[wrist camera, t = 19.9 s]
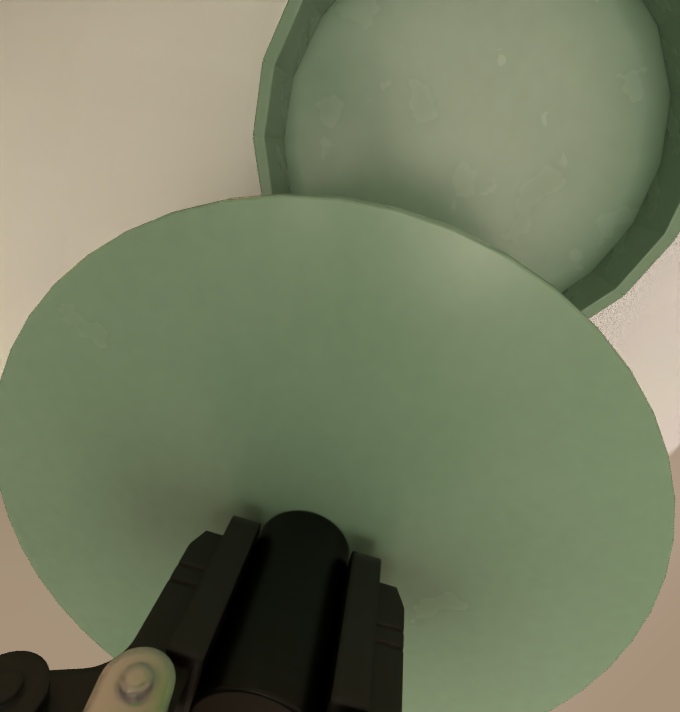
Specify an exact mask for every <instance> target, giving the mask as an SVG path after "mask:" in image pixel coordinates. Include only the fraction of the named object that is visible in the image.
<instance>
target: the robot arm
mask: <svg viewBox="0 0 680 712" xmlns="http://www.w3.org/2000/svg"><path fill="white" fill-rule="evenodd" d="M260 529H261V523H259V522H255V521H252V520H248V519H245V518H242V517H238V516H235V515H234V516H233V517H232V519H231V520H230V522H229V524H228V526H227V528H226V530H225V532H224V534H223V535H220V534H217V533H213V532H210V531H207V530H206V531H205V532H204V533H203V534H201V535H200V536H199V537H197V538H196V539H195V540H194V541H192V542H191V543H190V544H189V545H188V547H187V549H186V551H185V552H184V554H183V556H182V557H181V559H180V561H179V564H178V565H177V566H176V568H175V570H174V571H173V573H172V575H171V577H170V579H169V581H168V582H167V583H166V585H165V587H164V589H163V590H162V592H161V594H160V596H159V597H158V599H157V601H156V603H155V604H154V606H153V608H152V609H151V611H150V613H149V615H148V616H147V618H146V620H145V622H144V623H143V625H142V627H141V629H140V630H139V632H138V634H137V635H136V637H135V639H134V640H133V642H132V643H131V644H130V645H129V647H128V648H127V649H126V650H125V651H123V652H122V653H121V654H119V655H118V656H116V657H115V658H114V659H112V660H111V661H109V662H107V663H104V664H102V665H99V666H96V667H92V668H85V669H66V670H49V667H48V665H47V663H46V661H45V660H44V659H43V658H42V657H41V656H39V655H37V654H35V653H32V652H28V651H14V652H8V653H5V654H1V655H0V712H189V708H190V705H191V702H192V700H193V698H194V695H195V693H196V691H197V689H198V687H199V684H200V682H201V679H202V677H203V674H204V672H205V669H206V667H207V665H208V662H209V660H210V657H211V655H212V652H213V650H214V647H215V645H216V642H217V640H218V637H219V635H220V632H221V630H222V628H223V625H224V623H225V620H226V618H227V615H228V613H229V610H230V608H231V605H232V603H233V600H234V598H235V596H236V593H237V591H238V588H239V586H240V583H241V581H242V578H243V576H244V573H245V571H246V568H247V566H248V563H249V561H250V559H251V556H252V554H253V551H254V549H255V546H256V544H257V541H258V538H259V534H260ZM380 572H381V559H380V558H376V557H373V556H369V555H366V554H363V553H359V552H356V551H352V554H351V556H350V559H349V562H348V565H347V569H346V575H345V581H344V587H343V593H342V599H341V605H340V612H339V618H338V624H337V630H336V636H335V642H334V648H333V654H332V660H331V666H330V672H329V678H328V684H327V690H326V696H325V702H324V708H323V712H402V692H403V648H404V634H403V631H404V606H403V603H402V600H401V598H400V595H399V592H398V589H397V587H394V586H391V585H387V584H384V583H381V582H380Z"/></svg>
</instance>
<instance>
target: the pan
mask: <svg viewBox="0 0 680 712" xmlns="http://www.w3.org/2000/svg"><path fill="white" fill-rule="evenodd" d="M263 60H264V61H263V62H262V70H261V77H260V85H259V93H258V101H257V109H256V116H255V124H254V132H253V136H254V137H253V140H254V147H255V154H256V161H257V167H258V174H259V181H260V187H261V194H262V195H272V194H284V193H288V194H306V195H325V196H342V197H347V198H352V199H358V200H363V201H368V202H373V203H378V204H383V205H388V206H394V207H399V208H402V209H405V210H408V211H410V212H413V213H416V214H419V215H422V216H425V217H428V218H431V219H434V220H437V221H440V222H443V223H446V224H448V225H451V226H454V227H456V228H458V229H460V230H462V231H464V232H466V233H468V234H470V235H472V236H474V237H476V238H478V239H480V240H482V241H484V242H486V243H488V244H490V245H492V246H494V247H496V248H498V249H500V250H502V251H504V252H506V253H507V254H509V255H510V256H512V257H513V258H515V259H516V260H517V261H519V262H520V263H522V264H523V265H525V266H526V267H527V268H529V269H530V270H532V271H533V272H535V273H536V274H537V275H539V276H540V277H542V278H543V279H545V280H546V281H547V282H549V283H550V284H552V285H553V286H554V287H555V288H556V289H557V290H558V291H559V292H560V293H561V294H563V295H564V296H565V297H566V298H567V299H568V300H569V301H570V302H571V303H572V304H573V305H574V306H575V307H576V308H577V309H578V310H580V311H581V312H582V313H583V314H584V315H585V316H586V317H587V318H588V319H589V318H590V317H592V316H594V315H595V314H597V313H598V312H600V311H601V310H603V309H604V308H606V307H608V306H609V305H611V304H612V303H614V302H615V301H617V300H618V299H620V298H622V297H623V295H625V294H626V293H627V292H628V291H629V290H630V289H631V288H632V287H633V285H634V284H635V283H636V282H637V281H638V280H639V279H640V278H641V277H642V275H643V274H644V273H645V272H646V271H647V270H648V269H649V268H650V267H651V266H652V264H653V263H654V262H655V261H656V260H657V259H658V258H659V257H660V256H661V255H662V253H663V252H664V251H665V250H666V249H667V248H668V247H669V246H670V245H671V243H672V242H673V241H674V240H675V238H676V237H677V235H678V233H679V232H680V0H288V3H287V5H286V7H285V10H284V12H283V14H282V17H281V19H280V21H279V24H278V26H277V28H276V31H275V33H274V35H273V38H272V40H271V42H270V45H269V47H268V49H267V52H266V54H265V56H264V59H263Z"/></svg>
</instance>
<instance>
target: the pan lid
mask: <svg viewBox="0 0 680 712" xmlns="http://www.w3.org/2000/svg"><path fill="white" fill-rule="evenodd" d="M0 491H1V494H2V498H3V501H4V504H5V508H6V511H7V514H8V518H9V520H10V522H11V525H12V527H13V529H14V532H15V534H16V536H17V538H18V541H19V543H20V545H21V547H22V549H23V551H24V553H25V555H26V556H27V558H28V560H29V561H30V563H31V565H32V566H33V568H34V570H35V572H36V573H37V575H38V577H39V578H40V580H41V581H42V582H43V584H44V585H45V586H46V587H47V589H48V590H49V592H50V593H51V594H52V596H53V597H54V598H55V600H56V601H57V602H58V604H59V605H60V606H61V607H62V608H63V609H64V610H65V612H66V613H67V614H68V615H69V616H70V617H71V618H72V619H73V620H74V622H75V623H76V624H77V625H78V626H79V627H80V628H81V629H82V630H83V631H84V632H85V633H86V634H87V635H88V636H90V638H92V639H93V640H94V641H95V642H96V643H97V644H98V645H99V646H100V647H101V648H102V649H104V650H105V651H106V652H107V653H108V654H110V655H111V656H112V657H113V658H115V657H116V656H118V655H119V654H121V653H122V652H123V651H125V650H126V649H127V648H128V647H129V645H130V644H131V643H132V642H133V640H134V639H135V637H136V635H137V634H138V632H139V630H140V629H141V627H142V625H143V623H144V622H145V620H146V618H147V616H148V615H149V613H150V611H151V609H152V608H153V606H154V604H155V603H156V601H157V599H158V597H159V596H160V594H161V592H162V590H163V589H164V587H165V585H166V583H167V582H168V581H169V579H170V577H171V575H172V573H173V571H174V570H175V568H176V566H177V565H178V564H179V561H180V559H181V557H182V556H183V554H184V552H185V551H186V549H187V547H188V545H189V544H190V543H191V542H192V541H194V540H195V539H196V538H197V537H199V536H200V535H201V534H203V533H204V532H205V531H206V530H207V531H210V532H213V533H217V534H220V535H223V534H224V532H225V530H226V528H227V526H228V524H229V522H230V520H231V519H232V517H233V516H234V515H235V516H238V517H242V518H245V519H248V520H252V521H255V522H259V523H261V529H260V534H259V538H258V541H257V544H256V546H255V549H254V551H253V554H252V556H251V559H250V561H249V563H248V566H247V568H246V571H245V573H244V576H243V578H242V581H241V583H240V586H239V588H238V591H237V593H236V596H235V598H234V600H233V603H232V605H231V608H230V610H229V613H228V615H227V618H226V620H225V623H224V625H223V628H222V630H221V632H220V635H219V637H218V640H217V642H216V645H215V647H214V650H213V652H212V655H211V657H210V660H209V662H208V665H207V667H206V669H205V672H204V674H203V677H202V679H201V682H200V684H199V687H198V689H197V691H196V693H195V695H194V698H193V700H192V702H191V705H190V708H189V712H323V708H324V702H325V696H326V690H327V684H328V678H329V672H330V666H331V660H332V654H333V648H334V642H335V636H336V630H337V624H338V618H339V612H340V605H341V599H342V593H343V587H344V581H345V575H346V569H347V565H348V562H349V559H350V556H351V554H352V551H356V552H359V553H363V554H366V555H369V556H373V557H376V558H380V559H381V572H380V582H381V583H384V584H387V585H391V586H394V587H397V589H398V592H399V595H400V598H401V600H402V603H403V606H404V631H403V634H404V648H403V692H402V712H549V711H551V710H553V709H554V708H556V707H558V706H559V705H561V704H562V703H564V702H565V701H567V700H568V699H570V698H572V697H573V696H575V695H576V694H578V693H579V692H581V691H582V690H584V689H585V688H586V687H587V686H588V685H589V684H591V683H592V682H593V681H594V680H595V679H596V678H598V677H599V676H600V675H601V674H602V673H604V672H605V671H606V670H607V669H608V668H609V667H610V666H611V665H612V664H613V663H614V661H615V660H616V659H617V658H618V657H619V656H620V655H621V654H622V653H623V651H624V650H625V649H626V648H627V647H628V646H629V645H630V643H631V642H632V641H633V639H634V638H635V636H636V635H637V633H638V631H639V630H640V628H641V627H642V625H643V623H644V622H645V620H646V619H647V617H648V616H649V614H650V612H651V610H652V608H653V606H654V603H655V601H656V599H657V596H658V593H659V591H660V589H661V587H662V584H663V582H664V580H665V577H666V572H667V568H668V563H669V559H670V554H671V550H672V545H673V541H674V515H675V495H674V489H673V482H672V475H671V469H670V462H669V456H668V453H667V450H666V447H665V444H664V441H663V438H662V435H661V432H660V429H659V426H658V423H657V420H656V417H655V415H654V412H653V410H652V408H651V407H650V405H649V403H648V401H647V399H646V397H645V395H644V394H643V392H642V390H641V388H640V386H639V384H638V383H637V381H636V379H635V377H634V375H633V373H632V372H631V370H630V368H629V367H628V366H627V365H626V363H625V362H624V361H623V359H622V358H621V357H620V356H619V354H618V353H617V352H616V350H615V349H614V348H613V347H612V345H611V344H610V343H609V341H608V340H607V339H606V338H605V336H604V335H603V334H602V332H601V331H600V330H599V329H598V327H596V326H595V325H594V324H593V323H592V322H591V321H590V320H589V319H588V318H587V317H586V316H585V315H584V314H583V313H582V312H581V311H580V310H578V309H577V308H576V307H575V306H574V305H573V304H572V303H571V302H570V301H569V300H568V299H567V298H566V297H565V296H564V295H563V294H561V293H560V292H559V291H558V290H557V289H556V288H555V287H554V286H553V285H552V284H550V283H549V282H547V281H546V280H545V279H543V278H542V277H540V276H539V275H537V274H536V273H535V272H533V271H532V270H530V269H529V268H527V267H526V266H525V265H523V264H522V263H520V262H519V261H517V260H516V259H515V258H513V257H512V256H510V255H509V254H507V253H506V252H504V251H502V250H500V249H498V248H496V247H494V246H492V245H490V244H488V243H486V242H484V241H482V240H480V239H478V238H476V237H474V236H472V235H470V234H468V233H466V232H464V231H462V230H460V229H458V228H456V227H454V226H451V225H448V224H446V223H443V222H440V221H437V220H434V219H431V218H428V217H425V216H422V215H419V214H416V213H413V212H410V211H408V210H405V209H402V208H399V207H394V206H388V205H383V204H378V203H373V202H368V201H363V200H358V199H352V198H347V197H342V196H325V195H306V194H288V193H284V194H272V195H261V196H250V197H238V198H230V199H225V200H221V201H217V202H213V203H209V204H204V205H200V206H196V207H192V208H188V209H184V210H179V211H175V212H172V213H169V214H167V215H164V216H162V217H160V218H157V219H155V220H152V221H150V222H147V223H145V224H143V225H140V226H138V227H135V228H133V229H130V230H128V231H126V232H124V233H123V234H121V235H119V236H118V237H116V238H114V239H113V240H111V241H110V242H108V243H106V244H105V245H103V246H101V247H100V248H98V249H97V250H95V251H93V252H92V253H90V254H88V255H87V256H86V257H85V258H84V259H82V260H81V261H80V262H79V263H78V264H77V265H76V266H74V267H73V268H72V269H71V270H70V271H69V272H68V273H66V274H65V275H64V276H63V277H62V278H61V279H60V280H58V281H57V282H56V283H55V284H54V285H53V287H52V288H51V289H50V290H49V292H48V293H47V294H46V295H45V297H44V298H43V299H42V300H41V302H40V303H39V304H38V305H37V307H36V308H35V309H34V310H33V312H32V313H31V314H30V315H29V317H28V319H27V321H26V322H25V324H24V326H23V328H22V330H21V332H20V333H19V335H18V337H17V339H16V341H15V343H14V345H13V346H12V348H11V350H10V353H9V356H8V359H7V362H6V365H5V368H4V371H3V374H2V377H1V380H0Z"/></svg>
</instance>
